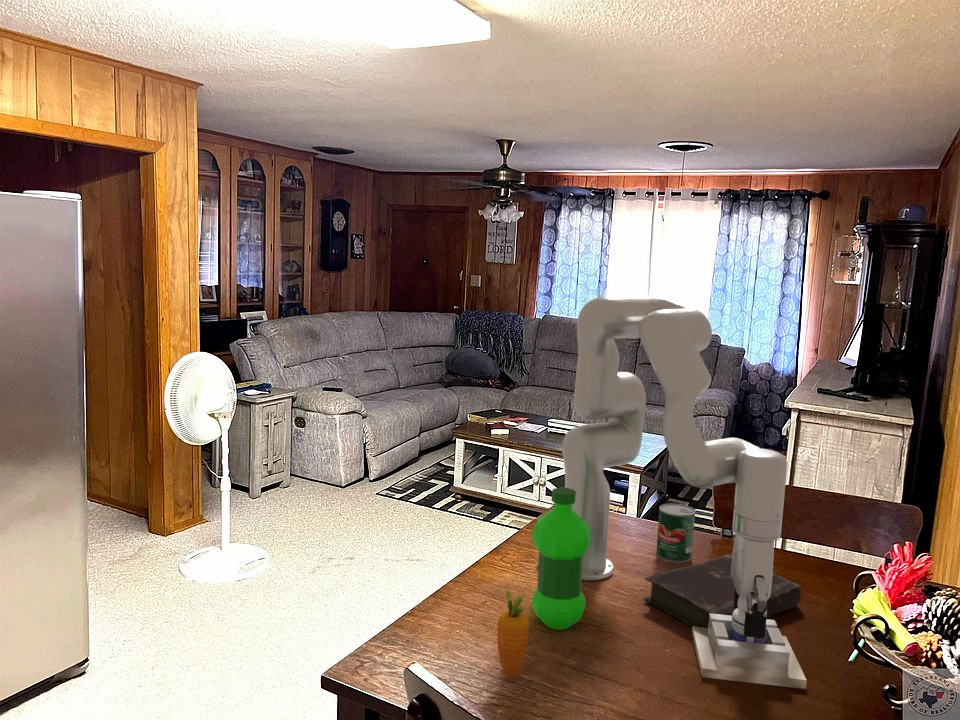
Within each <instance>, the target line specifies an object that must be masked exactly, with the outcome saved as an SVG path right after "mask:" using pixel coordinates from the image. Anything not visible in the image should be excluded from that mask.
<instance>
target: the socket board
mask: <svg viewBox="0 0 960 720" xmlns="http://www.w3.org/2000/svg"><path fill="white" fill-rule="evenodd" d="M731 624H732V616H730V615H720V614H711V613H709V624H708V628H704V627H694V626H692V627H691V637H692V642H693V646H694V649H695V654H696V660H697V663H698V664H697V665H698V668H699V672H700V677H701V678H707V679H717V680H724V681H725V680H726V681H733V682H742V683H751V684H752V683H753V684H758V685H759V684H761V685H769V686H776V687H786V688H795V689H803V690H806V689H807V678H806V676H805V674H804V672H803V669H802V666H801V665H800V663H799V661H798V659H797V656H796V655H795V652H794V650H793V648H792V646H791V644H790V642H789V640H788V637H787V636H786V635H782V632H781V631H780V628H778V625H777V622H776V620H775V619H768V618H767V619H766V630H765V637H764V640H763V644H759V643H750V642H741V641H731V640H730V633H731Z"/></svg>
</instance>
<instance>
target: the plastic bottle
mask: <svg viewBox="0 0 960 720" xmlns="http://www.w3.org/2000/svg"><path fill="white" fill-rule="evenodd" d="M575 499H576V491H574V490H573V489H569V488H565V487H555V488H553V489H552V490H551V501H552V503H553V504H554V505H553V506H554V507H553V508H552V509H551V510H549V511H548V512H546V513H545V514H544V515H543V516H541V517H540V518H539V519H538V520H537V521H536V523H535V525H534V528H533V529H532V543H533V546H534V547H535V548H536V549H537V550H538V551H539V552H538V569H537V570H538V571H537V588H536V590H535V592H534V594H533V595H532V598H531V607H532V610H533V612H534V613H535V615H536V616H537V618H539V619H540V621H541V622H542V623H543V624H544V625H545V626H546V627H548V628H550V629H553V630H566V629H569V628H571V626H573V625H574V624H577V623H578V622H579V621H580V620H581V618H582V615H583V614H584V611H585V608H586V602H587V601H586V597H585V595H584V593H583V590H582V581H583V580H582V561H583V555H584V554H585V553H586V552H587V549H588V547H589V544H590V540H591V531H590V528H589V525H588V524H587V523H586V522H585V521H584V520H583V519H582V518H581V517H580V516H579V515H577V514H576V513H575V512H574V511H573V510H572V504H574V503H575Z"/></svg>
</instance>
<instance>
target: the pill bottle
mask: <svg viewBox="0 0 960 720" xmlns="http://www.w3.org/2000/svg"><path fill="white" fill-rule="evenodd" d="M754 603H757V602H756V600H752V606H753V604H754ZM745 612H748V609H747V597H744V596H743V598H742V597H739V599H738V608H737V609H735V610H734V612H733V615H732V624H731V633H730V640H731V641H741V642H750V643H759V644H763V640H764V638H755V637H746V636H745V635H744V623H745Z"/></svg>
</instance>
